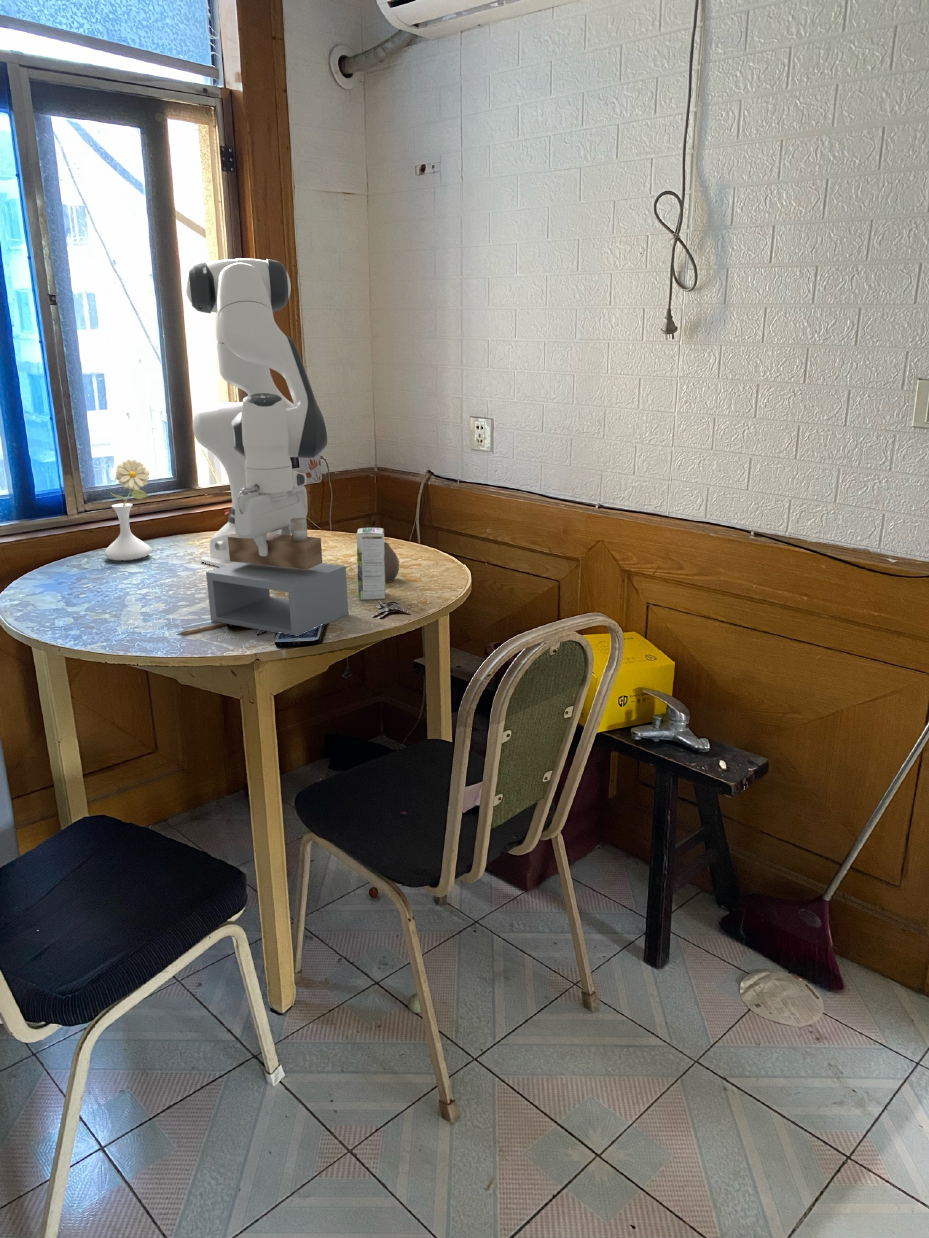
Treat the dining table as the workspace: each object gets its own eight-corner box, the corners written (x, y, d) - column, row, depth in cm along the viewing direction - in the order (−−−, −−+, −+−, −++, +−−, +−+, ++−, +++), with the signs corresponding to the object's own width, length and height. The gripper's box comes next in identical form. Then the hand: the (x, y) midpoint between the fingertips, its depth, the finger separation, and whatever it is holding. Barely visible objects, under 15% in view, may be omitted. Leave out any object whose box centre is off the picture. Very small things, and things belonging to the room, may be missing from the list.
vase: (394, 585, 206) (393, 547, 203) (365, 583, 207) (363, 546, 204) (403, 577, 212) (401, 540, 210) (374, 576, 214) (372, 539, 211)
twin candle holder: (229, 561, 181) (225, 516, 179) (246, 555, 186) (242, 511, 183) (306, 569, 174) (303, 523, 172) (322, 562, 179) (319, 517, 176)
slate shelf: (211, 620, 182) (206, 572, 179) (264, 600, 195) (260, 554, 192) (297, 636, 172) (294, 585, 169) (348, 614, 185) (345, 566, 182)
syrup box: (359, 593, 200) (356, 527, 195) (386, 592, 200) (383, 527, 196) (358, 600, 194) (355, 533, 190) (386, 599, 195) (383, 532, 190)
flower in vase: (102, 565, 227) (88, 464, 219) (108, 555, 237) (95, 458, 230) (157, 561, 229) (145, 461, 222) (160, 551, 240) (149, 455, 232)
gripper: (252, 491, 165) (258, 565, 169) (311, 474, 183) (315, 541, 187) (223, 489, 167) (229, 562, 172) (284, 472, 185) (289, 539, 190)
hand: (275, 551), depth 180 cm, fingers closed on twin candle holder, 5 cm apart
